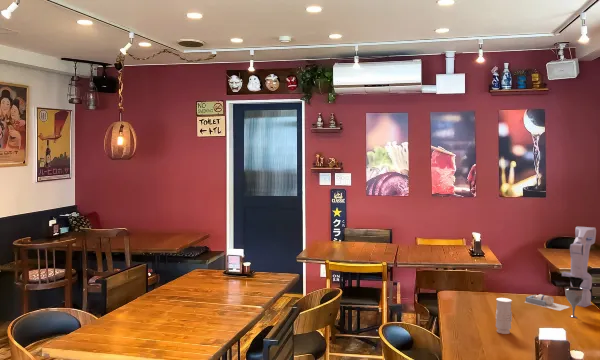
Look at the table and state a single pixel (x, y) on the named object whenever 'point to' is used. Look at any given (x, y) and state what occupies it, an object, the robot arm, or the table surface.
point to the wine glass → (573, 297)
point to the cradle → (544, 303)
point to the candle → (503, 315)
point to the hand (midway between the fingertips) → (576, 291)
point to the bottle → (544, 298)
